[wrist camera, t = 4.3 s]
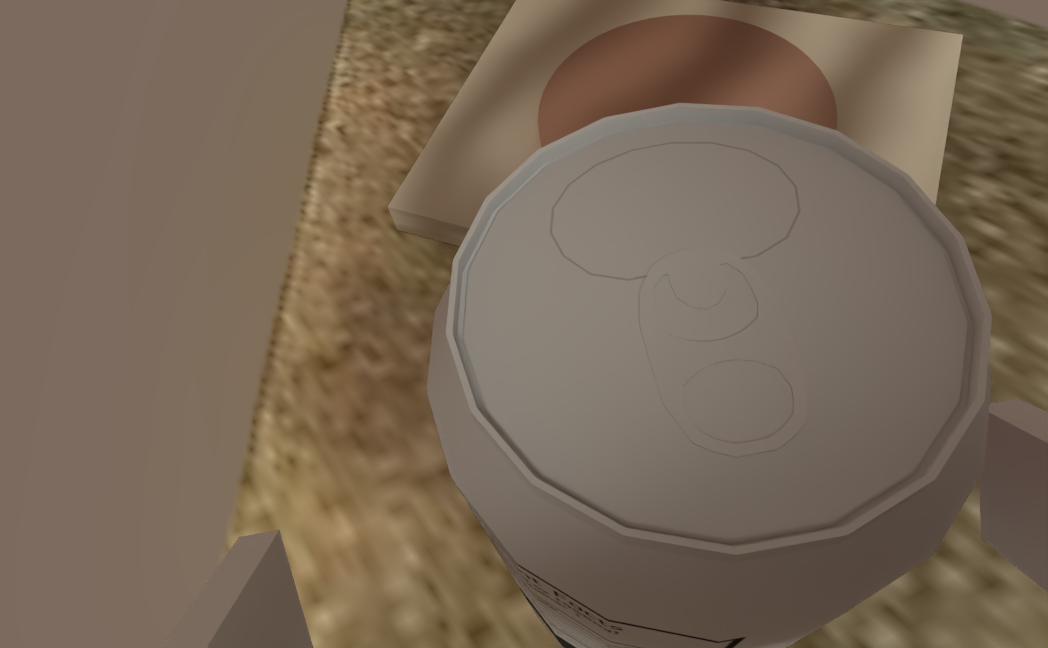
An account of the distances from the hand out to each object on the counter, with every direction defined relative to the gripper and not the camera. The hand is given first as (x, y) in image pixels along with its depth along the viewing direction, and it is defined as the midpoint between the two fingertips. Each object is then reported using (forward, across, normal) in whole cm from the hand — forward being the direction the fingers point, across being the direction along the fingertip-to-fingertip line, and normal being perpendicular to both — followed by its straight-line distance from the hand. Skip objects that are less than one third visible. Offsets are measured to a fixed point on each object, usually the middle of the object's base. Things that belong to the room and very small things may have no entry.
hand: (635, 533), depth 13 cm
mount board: (+20, +6, +6) cm, 22 cm away
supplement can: (+8, +1, -6) cm, 10 cm away
